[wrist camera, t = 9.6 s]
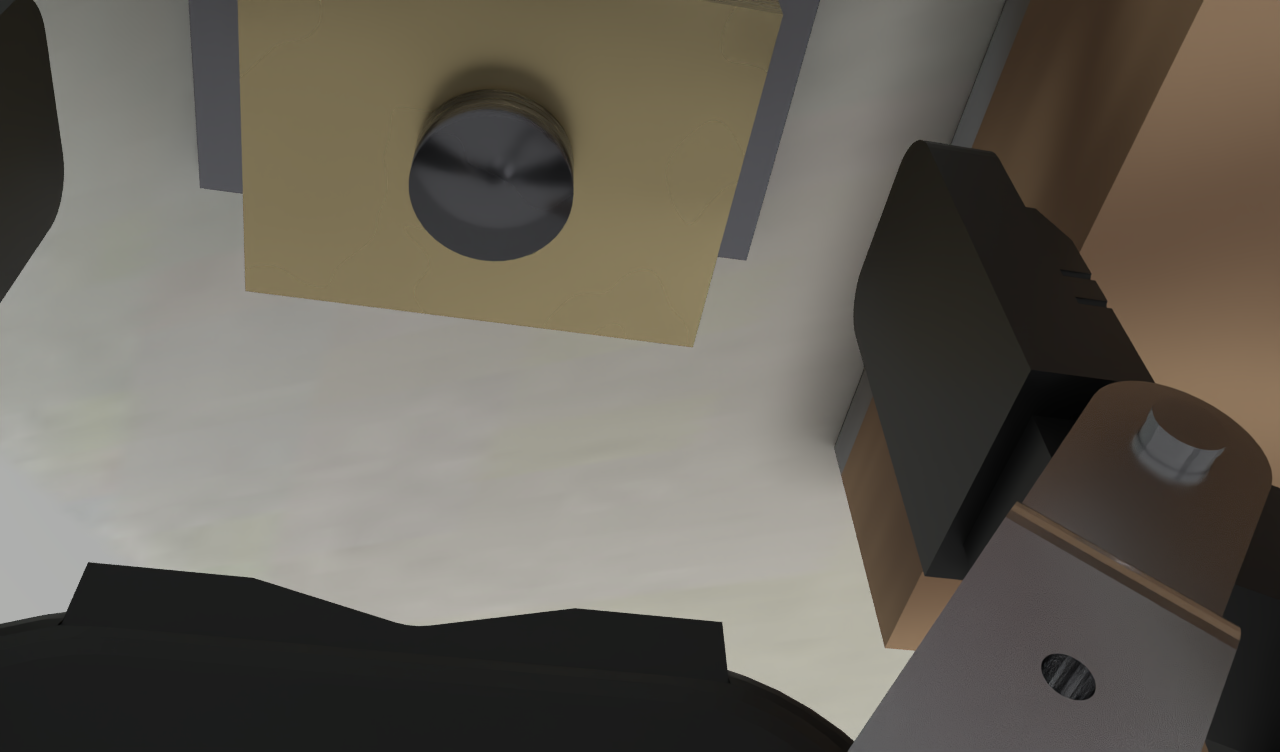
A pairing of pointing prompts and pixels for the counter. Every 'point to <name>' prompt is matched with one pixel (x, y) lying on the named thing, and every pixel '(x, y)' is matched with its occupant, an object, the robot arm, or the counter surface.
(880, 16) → the counter surface
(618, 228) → the brushed brass block
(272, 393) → the counter surface
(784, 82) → the mat
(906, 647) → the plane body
